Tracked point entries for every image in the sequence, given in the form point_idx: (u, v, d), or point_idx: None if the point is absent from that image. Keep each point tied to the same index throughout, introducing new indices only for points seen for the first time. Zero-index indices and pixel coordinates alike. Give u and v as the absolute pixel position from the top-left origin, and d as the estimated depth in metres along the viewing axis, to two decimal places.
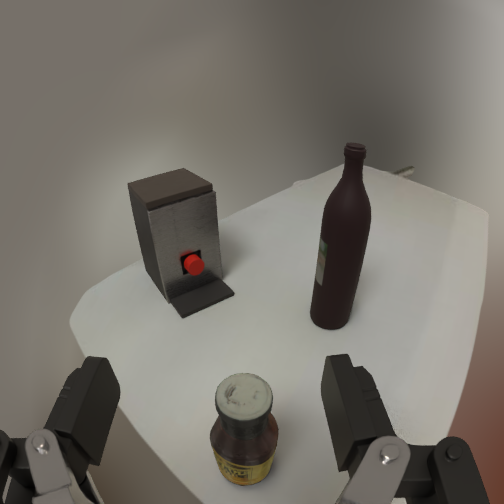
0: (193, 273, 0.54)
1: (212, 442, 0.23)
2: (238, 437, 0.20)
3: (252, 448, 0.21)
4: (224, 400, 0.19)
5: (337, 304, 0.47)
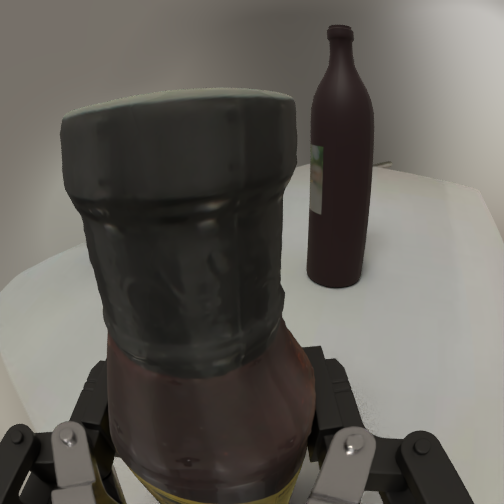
0: None
1: (110, 426, 0.07)
2: (159, 357, 0.05)
3: (234, 429, 0.05)
4: None
5: (346, 242, 0.33)
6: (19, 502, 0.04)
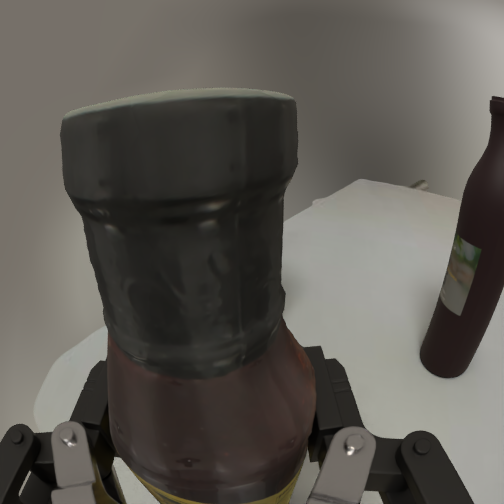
0: None
1: (110, 426, 0.07)
2: (160, 357, 0.05)
3: (234, 429, 0.05)
4: None
5: (475, 340, 0.25)
6: (19, 502, 0.04)
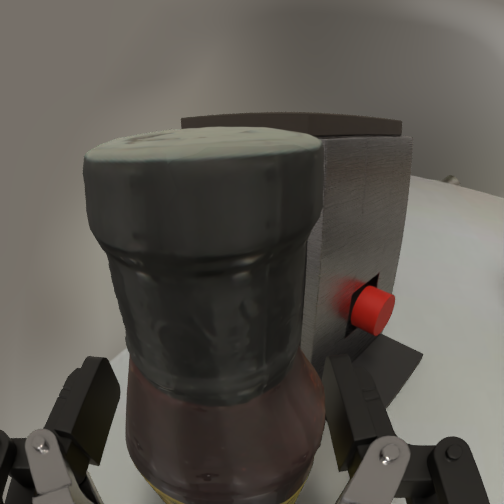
0: (377, 331, 0.20)
1: (127, 441, 0.07)
2: (187, 388, 0.05)
3: (252, 448, 0.06)
4: (118, 144, 0.04)
5: None
6: None
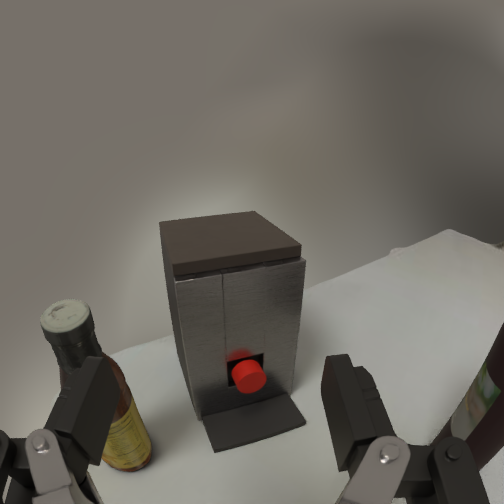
0: (245, 390, 0.30)
1: None
2: (60, 367, 0.18)
3: None
4: (48, 312, 0.18)
5: None
6: None
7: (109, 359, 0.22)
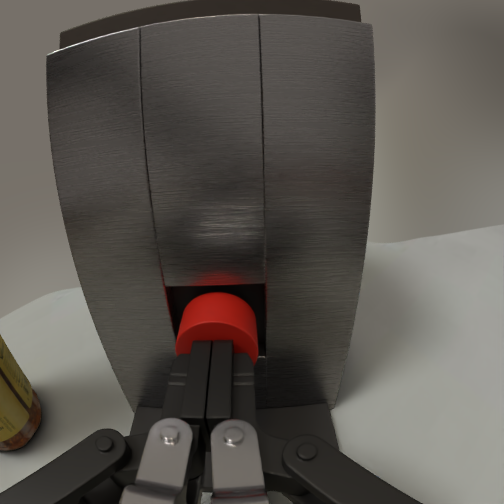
0: None
1: None
2: None
3: None
4: None
5: None
6: None
7: None
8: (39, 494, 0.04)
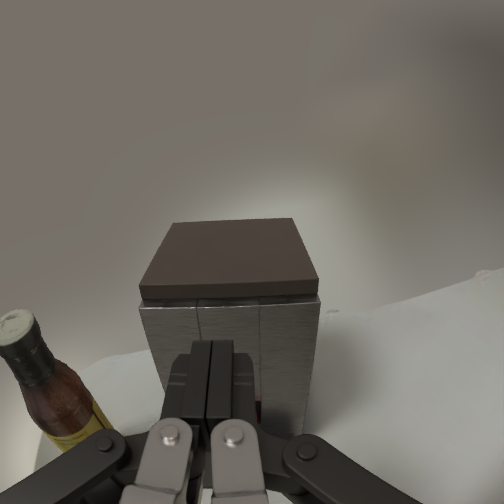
0: None
1: None
2: None
3: (26, 399, 0.16)
4: (2, 319, 0.16)
5: None
6: None
7: (66, 376, 0.19)
8: (39, 494, 0.04)
